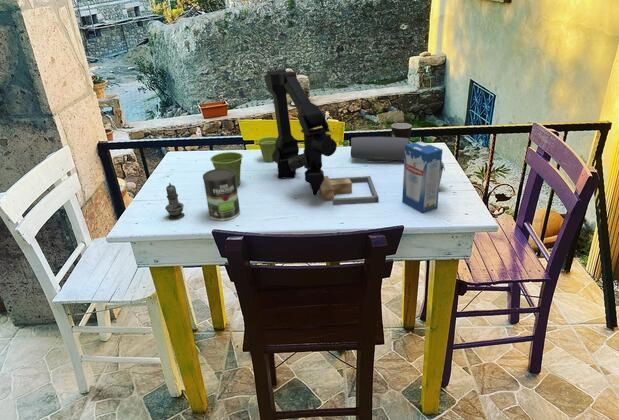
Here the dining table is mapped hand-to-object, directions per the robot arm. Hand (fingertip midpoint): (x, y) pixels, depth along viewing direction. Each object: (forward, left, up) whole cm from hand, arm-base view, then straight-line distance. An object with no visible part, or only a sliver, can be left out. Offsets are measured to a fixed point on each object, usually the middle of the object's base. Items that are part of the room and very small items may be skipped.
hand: (314, 190), depth 159 cm
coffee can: (-30, -11, -2) cm, 32 cm away
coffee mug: (+40, +44, -2) cm, 59 cm away
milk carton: (+34, -13, -2) cm, 36 cm away
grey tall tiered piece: (-46, -11, -2) cm, 48 cm away
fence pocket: (+13, 0, -2) cm, 13 cm away
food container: (+40, +1, -2) cm, 40 cm away
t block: (+7, +1, -2) cm, 8 cm away
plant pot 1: (-31, +12, -2) cm, 33 cm away
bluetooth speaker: (+28, +29, -2) cm, 40 cm away
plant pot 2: (-17, +37, -2) cm, 41 cm away
